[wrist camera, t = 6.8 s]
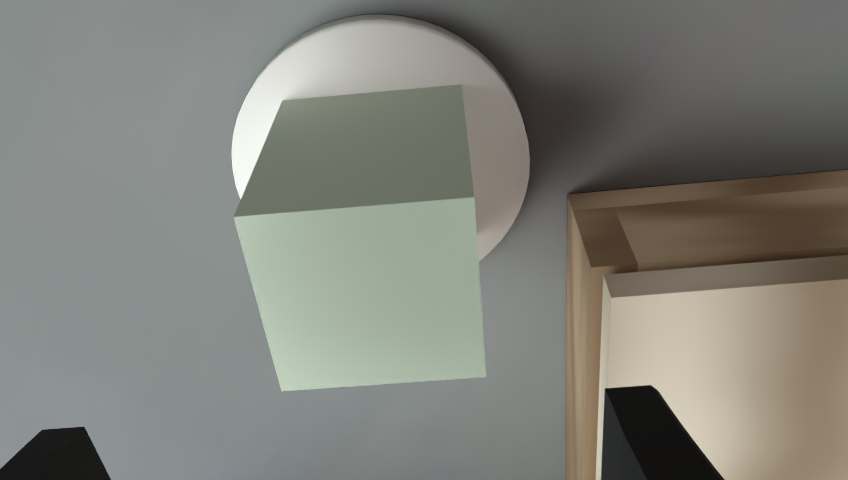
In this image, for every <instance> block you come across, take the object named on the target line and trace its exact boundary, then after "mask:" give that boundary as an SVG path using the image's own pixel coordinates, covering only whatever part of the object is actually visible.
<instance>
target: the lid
mask: <svg viewBox="0 0 848 480" xmlns="http://www.w3.org/2000/svg"><path fill="white" fill-rule="evenodd" d="M644 385H652V386H653V387H654V388H655V389H657V390H658V391H659V392H660V394H661V395H662V397H663V398H664V400H665V401H666V403H667V404H668V406H669V407H670V408H671V410H672V411H673V413H674V414H675V415H676V417H677V418H678V420H679V421H680V422H681V424H682V425H683V427H684V428H685V429H686V431H687V432H688V433H689V435H690V436H691V437H692V439H693V440H694V441H695V443H696V444H697V445H698V446H699V448H700V449H701V450H702V452H703V453H704V454H705V455H706V457H707V458H708V459H709V461H710V462H711V463H712V464H713V466H714V467H715V468H716V470H717V471H718V472H719V473H720V475H721V476H722V477H723V478H724V479H725V480H848V255H842V256H829V257H817V258H805V259H792V260H780V261H768V262H756V263H743V264H731V265H719V266H707V267H694V268H682V269H670V270H657V271H645V272H633V273H621V274H608V275H603V297H602V324H601V350H600V377H599V403H598V430H597V456H596V480H601V466H602V442H603V419H604V396H605V388H617V387H631V386H644Z"/></svg>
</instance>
